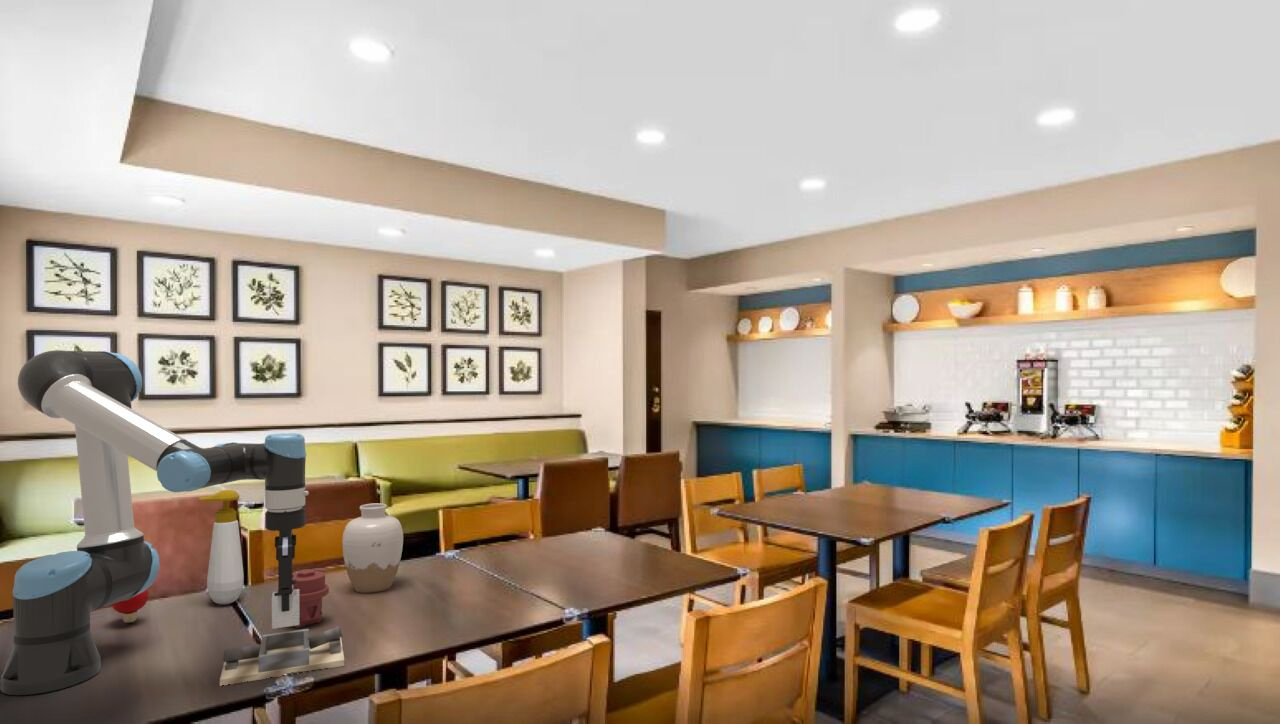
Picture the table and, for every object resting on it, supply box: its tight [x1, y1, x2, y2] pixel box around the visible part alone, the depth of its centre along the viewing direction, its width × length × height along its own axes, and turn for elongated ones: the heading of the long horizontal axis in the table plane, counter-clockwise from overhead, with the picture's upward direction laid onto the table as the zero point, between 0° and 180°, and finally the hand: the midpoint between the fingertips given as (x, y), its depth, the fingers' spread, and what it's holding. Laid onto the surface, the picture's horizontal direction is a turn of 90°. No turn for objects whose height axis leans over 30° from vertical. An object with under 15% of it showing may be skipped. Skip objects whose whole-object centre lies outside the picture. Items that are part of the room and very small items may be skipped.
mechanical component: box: [292, 568, 330, 629], centre depth 171 cm, size 12×10×10 cm
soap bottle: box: [198, 489, 245, 606], centre depth 187 cm, size 13×10×29 cm
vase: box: [342, 502, 404, 594], centre depth 199 cm, size 16×16×23 cm
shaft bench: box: [219, 625, 345, 687], centre depth 147 cm, size 22×14×6 cm, turn 115°
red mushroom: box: [112, 589, 149, 625], centre depth 171 cm, size 9×7×10 cm
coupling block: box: [271, 589, 299, 630], centre depth 148 cm, size 5×5×7 cm
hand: (285, 621), depth 148 cm, fingers closed on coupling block, 5 cm apart
